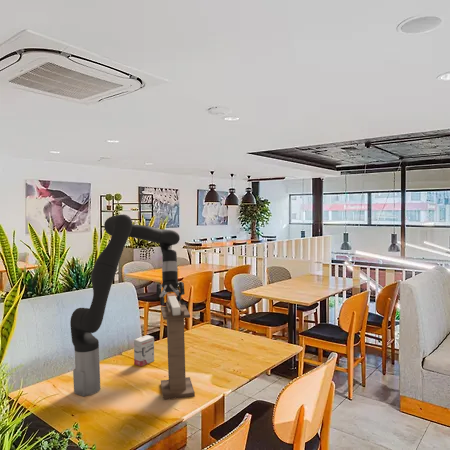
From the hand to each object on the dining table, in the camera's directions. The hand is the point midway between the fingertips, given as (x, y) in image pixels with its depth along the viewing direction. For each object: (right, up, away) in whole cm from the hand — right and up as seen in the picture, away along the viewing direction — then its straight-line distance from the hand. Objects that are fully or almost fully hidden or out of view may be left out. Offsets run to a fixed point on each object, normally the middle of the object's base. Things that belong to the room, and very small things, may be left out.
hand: (170, 304), depth 189 cm
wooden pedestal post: (+7, -27, -33) cm, 43 cm away
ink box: (-12, -27, -5) cm, 29 cm away
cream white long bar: (+5, +5, -30) cm, 30 cm away
